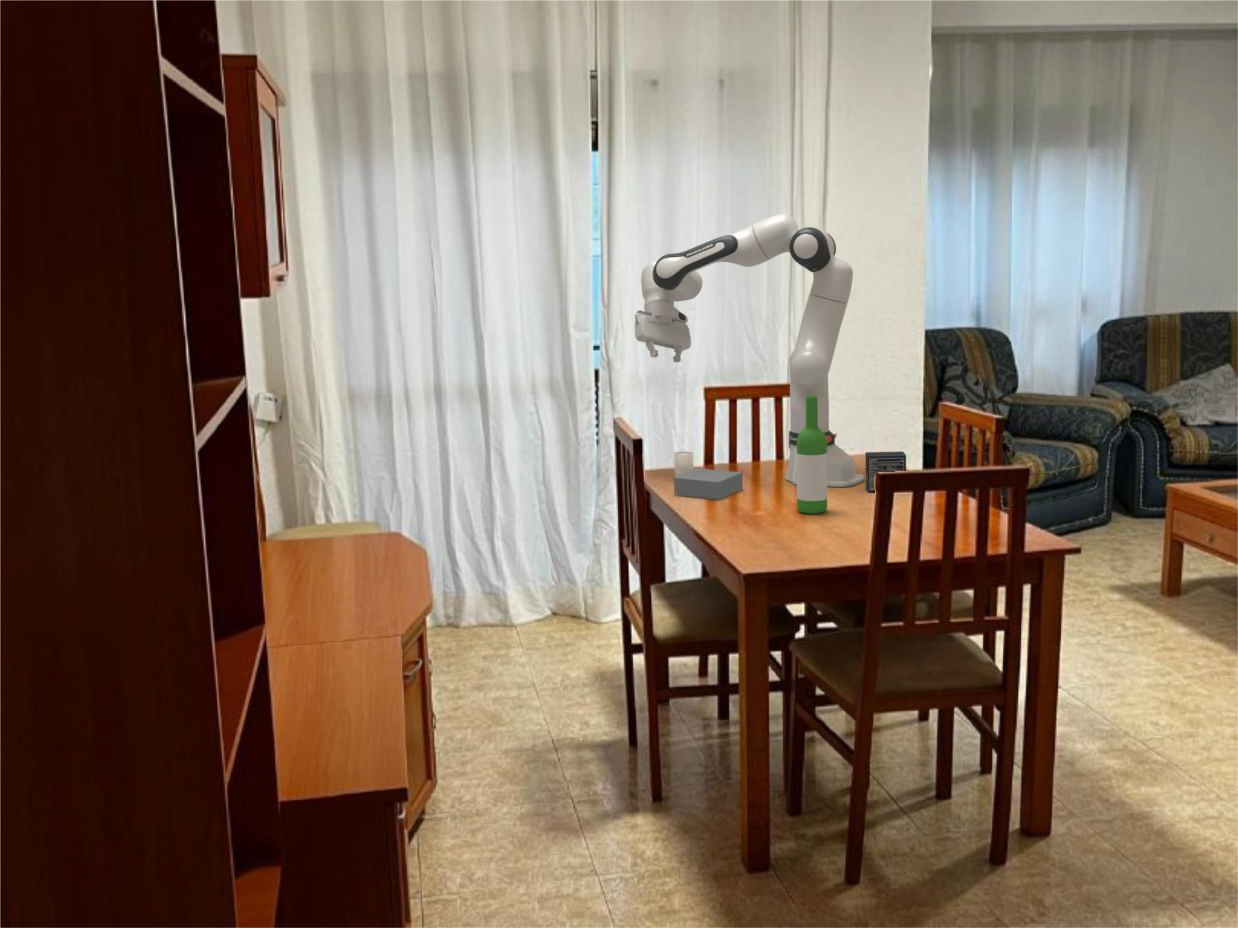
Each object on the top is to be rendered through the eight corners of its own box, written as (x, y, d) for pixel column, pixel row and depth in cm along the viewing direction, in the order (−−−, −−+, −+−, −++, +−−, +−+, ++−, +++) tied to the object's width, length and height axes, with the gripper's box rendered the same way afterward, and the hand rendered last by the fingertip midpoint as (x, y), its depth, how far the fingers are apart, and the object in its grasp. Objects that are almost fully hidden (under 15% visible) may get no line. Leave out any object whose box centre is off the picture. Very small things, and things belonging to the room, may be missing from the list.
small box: (903, 487, 328) (903, 450, 326) (906, 492, 322) (907, 455, 320) (864, 488, 329) (865, 451, 327) (867, 493, 323) (867, 455, 321)
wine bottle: (804, 516, 300) (803, 399, 294) (792, 509, 307) (791, 395, 301) (832, 513, 302) (832, 397, 296) (819, 506, 309) (819, 393, 303)
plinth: (742, 489, 332) (742, 472, 331) (718, 500, 321) (718, 482, 320) (699, 485, 340) (699, 468, 339) (674, 495, 328) (674, 477, 327)
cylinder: (696, 478, 349) (696, 452, 347) (687, 482, 344) (686, 455, 343) (680, 477, 352) (680, 451, 350) (671, 480, 347) (670, 454, 346)
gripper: (642, 305, 339) (647, 349, 335) (691, 317, 353) (697, 361, 349) (627, 313, 343) (632, 357, 340) (676, 325, 357) (682, 367, 354)
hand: (666, 359), depth 345 cm, fingers open, 8 cm apart
